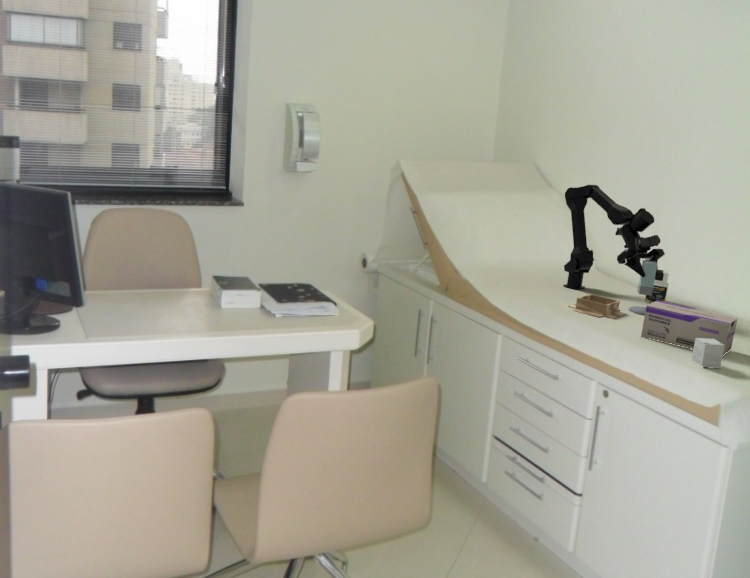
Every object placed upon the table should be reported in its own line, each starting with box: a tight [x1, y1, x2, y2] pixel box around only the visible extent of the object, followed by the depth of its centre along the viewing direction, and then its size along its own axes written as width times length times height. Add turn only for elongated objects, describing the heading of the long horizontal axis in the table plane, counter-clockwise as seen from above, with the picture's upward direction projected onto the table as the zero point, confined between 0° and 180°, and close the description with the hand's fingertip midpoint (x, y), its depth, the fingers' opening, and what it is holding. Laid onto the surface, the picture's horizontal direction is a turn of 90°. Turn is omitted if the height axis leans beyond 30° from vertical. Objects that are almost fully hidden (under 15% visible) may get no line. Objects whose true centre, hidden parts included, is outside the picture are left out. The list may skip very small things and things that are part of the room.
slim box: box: [637, 259, 658, 296], centre depth 293 cm, size 4×4×12 cm
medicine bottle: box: [644, 269, 670, 303], centre depth 313 cm, size 7×7×12 cm
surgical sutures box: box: [640, 300, 738, 355], centre depth 260 cm, size 25×11×11 cm, turn 54°
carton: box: [568, 293, 626, 320], centre depth 291 cm, size 17×17×4 cm
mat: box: [628, 305, 646, 316], centre depth 296 cm, size 10×10×1 cm
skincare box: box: [690, 338, 725, 369], centre depth 240 cm, size 6×6×7 cm
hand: (650, 276), depth 292 cm, fingers closed on slim box, 6 cm apart
